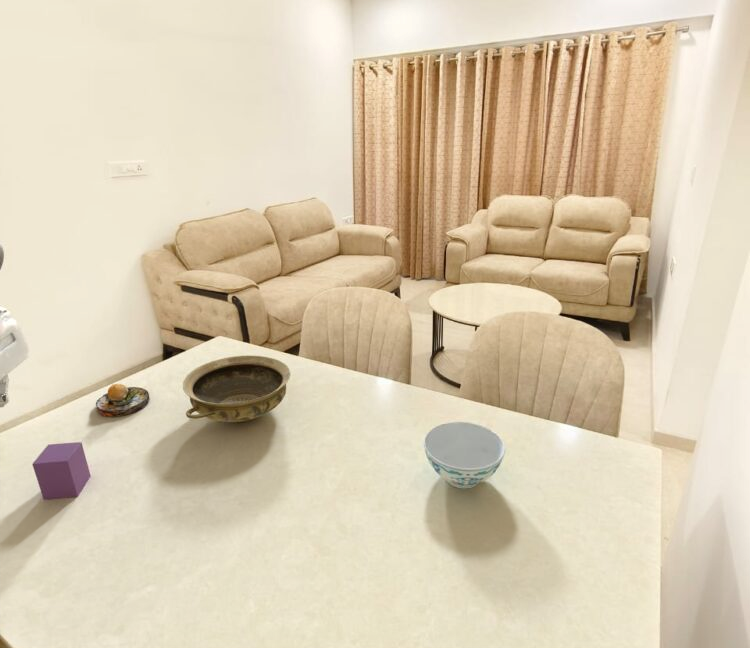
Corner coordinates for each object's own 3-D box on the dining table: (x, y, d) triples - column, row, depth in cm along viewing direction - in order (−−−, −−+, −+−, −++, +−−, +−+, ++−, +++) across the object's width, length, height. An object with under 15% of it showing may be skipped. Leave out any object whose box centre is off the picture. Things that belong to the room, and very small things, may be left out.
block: (77, 496, 93) (67, 461, 90) (43, 499, 92) (32, 464, 89) (90, 476, 98) (81, 441, 95) (58, 478, 98) (48, 444, 95)
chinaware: (411, 490, 93) (412, 456, 90) (437, 446, 106) (438, 415, 103) (491, 514, 87) (495, 477, 84) (508, 464, 100) (512, 431, 97)
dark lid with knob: (159, 397, 127) (154, 370, 124) (123, 421, 117) (117, 393, 114) (123, 389, 131) (117, 364, 128) (85, 412, 121) (77, 385, 118)
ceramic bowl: (233, 463, 101) (227, 421, 98) (155, 431, 113) (147, 392, 109) (320, 398, 126) (318, 362, 122) (249, 376, 137) (245, 343, 133)
